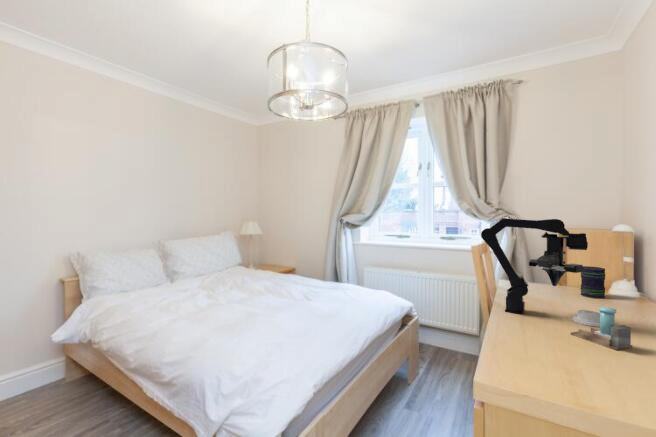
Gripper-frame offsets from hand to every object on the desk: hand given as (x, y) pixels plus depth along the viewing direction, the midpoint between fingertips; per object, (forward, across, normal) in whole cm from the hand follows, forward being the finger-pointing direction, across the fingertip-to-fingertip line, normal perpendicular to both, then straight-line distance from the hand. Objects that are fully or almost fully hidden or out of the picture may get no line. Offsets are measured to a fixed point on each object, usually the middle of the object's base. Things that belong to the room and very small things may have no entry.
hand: (554, 285), depth 129 cm
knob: (+13, +24, -12) cm, 29 cm away
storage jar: (+13, -13, +53) cm, 56 cm away
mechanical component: (+14, +10, +5) cm, 18 cm away
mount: (+13, +22, -12) cm, 28 cm away
